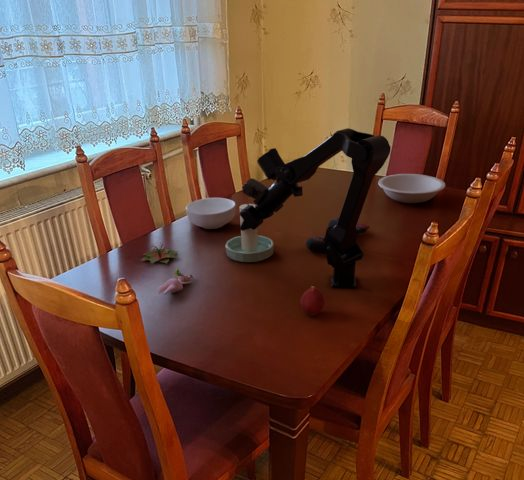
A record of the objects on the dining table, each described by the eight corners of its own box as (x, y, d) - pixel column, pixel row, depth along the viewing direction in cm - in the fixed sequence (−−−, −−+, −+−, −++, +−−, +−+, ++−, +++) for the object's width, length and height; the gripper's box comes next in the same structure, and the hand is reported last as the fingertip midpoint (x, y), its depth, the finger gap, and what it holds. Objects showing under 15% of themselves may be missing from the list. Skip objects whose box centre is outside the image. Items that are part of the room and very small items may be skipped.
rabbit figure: (178, 282, 154) (151, 298, 141) (177, 261, 151) (149, 276, 138) (198, 285, 152) (172, 301, 139) (198, 264, 149) (171, 279, 136)
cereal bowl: (207, 213, 197) (205, 194, 193) (245, 221, 189) (244, 201, 185) (177, 229, 185) (175, 208, 181) (217, 237, 177) (216, 216, 173)
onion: (309, 306, 137) (310, 278, 133) (328, 313, 134) (330, 284, 130) (296, 316, 133) (296, 287, 129) (315, 323, 130) (316, 293, 126)
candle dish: (271, 263, 159) (271, 253, 157) (223, 263, 161) (222, 252, 159) (275, 244, 171) (275, 235, 169) (230, 244, 173) (229, 234, 171)
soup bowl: (386, 187, 217) (388, 171, 213) (447, 194, 208) (450, 177, 204) (368, 206, 199) (370, 188, 195) (435, 214, 190) (438, 196, 186)
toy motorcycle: (302, 255, 167) (351, 257, 159) (300, 239, 164) (350, 240, 156) (334, 230, 185) (379, 230, 177) (333, 215, 183) (378, 215, 175)
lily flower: (186, 252, 168) (184, 238, 165) (169, 268, 158) (167, 253, 156) (151, 248, 171) (149, 234, 169) (133, 263, 162) (130, 249, 159)
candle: (257, 251, 162) (255, 205, 155) (240, 251, 163) (238, 205, 155) (259, 245, 167) (257, 200, 159) (243, 245, 167) (240, 200, 159)
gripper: (272, 162, 157) (241, 196, 168) (244, 180, 143) (211, 215, 154) (298, 192, 159) (264, 223, 169) (272, 212, 145) (237, 245, 155)
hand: (245, 226), depth 162 cm, fingers closed on candle, 5 cm apart
